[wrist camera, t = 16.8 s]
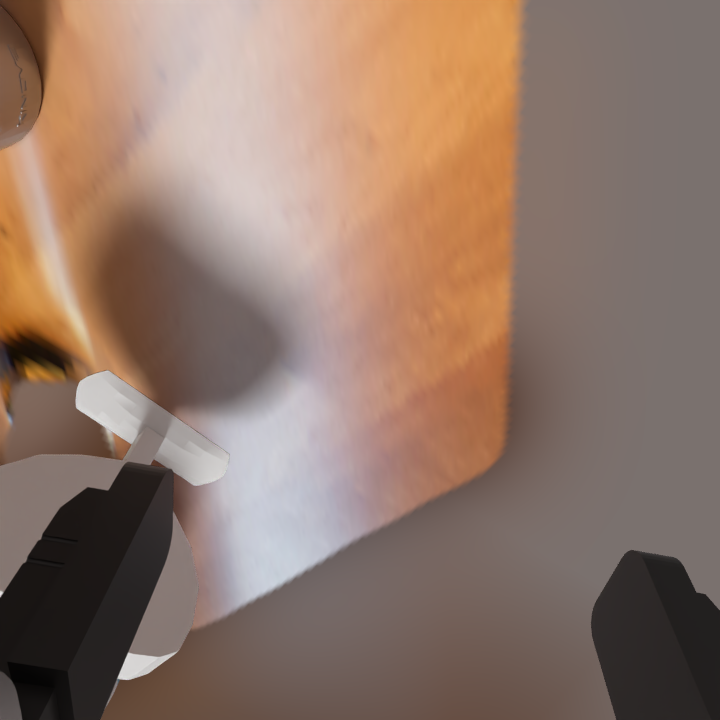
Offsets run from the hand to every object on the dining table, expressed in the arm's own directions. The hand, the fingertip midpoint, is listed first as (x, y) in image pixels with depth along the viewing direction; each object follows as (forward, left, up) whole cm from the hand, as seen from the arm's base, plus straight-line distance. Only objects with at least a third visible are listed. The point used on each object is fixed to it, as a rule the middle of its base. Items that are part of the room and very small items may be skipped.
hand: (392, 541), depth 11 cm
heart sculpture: (-15, -25, -30) cm, 42 cm away
